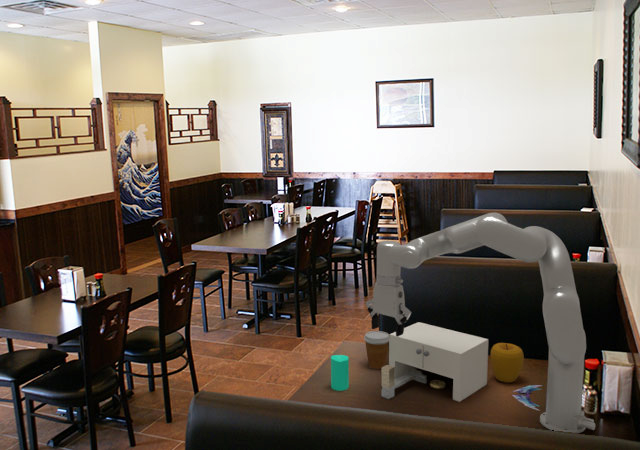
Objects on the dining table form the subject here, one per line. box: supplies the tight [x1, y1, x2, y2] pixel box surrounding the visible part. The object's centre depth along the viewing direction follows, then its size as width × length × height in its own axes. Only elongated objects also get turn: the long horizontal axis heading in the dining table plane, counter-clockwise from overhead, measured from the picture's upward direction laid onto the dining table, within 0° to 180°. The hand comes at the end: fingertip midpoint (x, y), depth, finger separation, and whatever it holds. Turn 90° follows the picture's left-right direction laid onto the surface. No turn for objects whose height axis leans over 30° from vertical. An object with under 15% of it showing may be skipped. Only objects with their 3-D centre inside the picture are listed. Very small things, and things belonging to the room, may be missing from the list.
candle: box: [330, 354, 350, 392], centre depth 202 cm, size 6×6×12 cm
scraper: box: [381, 364, 428, 400], centre depth 201 cm, size 19×7×10 cm, turn 137°
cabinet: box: [388, 321, 489, 403], centre depth 206 cm, size 28×19×16 cm
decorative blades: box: [511, 384, 543, 411], centre depth 195 cm, size 20×1×10 cm
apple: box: [490, 342, 525, 383], centre depth 207 cm, size 11×11×13 cm
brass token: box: [429, 379, 446, 390], centre depth 204 cm, size 5×5×1 cm
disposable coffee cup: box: [363, 330, 389, 370], centre depth 220 cm, size 10×10×12 cm
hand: (387, 331), depth 192 cm, fingers open, 9 cm apart
